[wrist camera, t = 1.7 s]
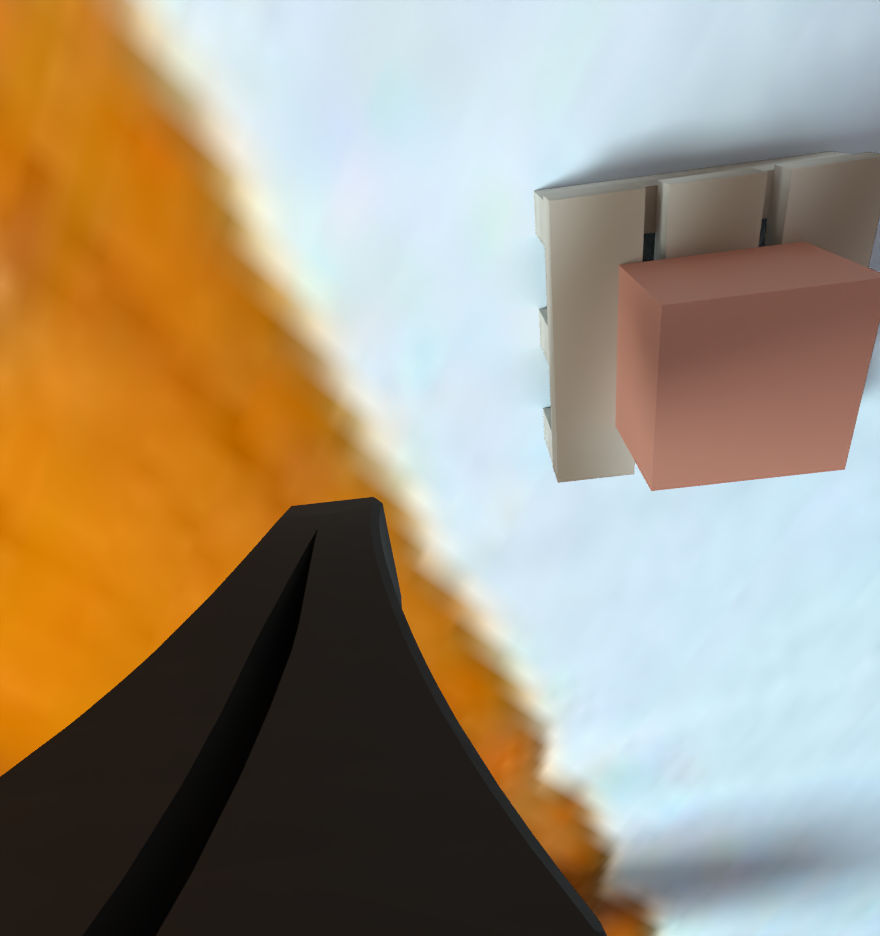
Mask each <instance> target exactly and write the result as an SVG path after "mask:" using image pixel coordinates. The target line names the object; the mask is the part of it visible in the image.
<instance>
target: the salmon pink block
mask: <svg viewBox="0 0 880 936" xmlns="http://www.w3.org/2000/svg"><path fill="white" fill-rule="evenodd" d="M879 322H880V273H879V272H877V271H875V270H872V269H870V268H867V267H865V266H863V265H860V264H858V263H855V262H853V261H851V260H848V259H846V258H843V257H841V256H839V255H836V254H834V253H831V252H829V251H827V250H824V249H822V248H819V247H817V246H815V245H812V244H810V243H807V242H805V241H802V242H794V243H787V244H779V245H771V246H763V247H755V248H747V249H739V250H732V251H724V252H716V253H708V254H700V255H692V256H684V257H677V258H669V259H661V260H653V261H645V262H637V263H629V264H622V265H619V276H618V324H617V371H616V419H615V426H616V428H617V430H618V432H619V433H620V435H621V437H622V439H623V441H624V443H625V444H626V446H627V448H628V450H629V452H630V453H631V455H632V457H633V459H634V461H635V462H636V464H637V466H638V468H639V470H640V471H641V473H642V475H643V477H644V479H645V480H646V482H647V484H648V486H649V488H650V489H651V491H655V490H664V489H673V488H682V487H691V486H700V485H709V484H718V483H727V482H736V481H745V480H754V479H763V478H772V477H781V476H790V475H799V474H808V473H817V472H826V471H835V470H844V469H845V466H846V462H847V457H848V453H849V449H850V445H851V440H852V436H853V432H854V428H855V424H856V419H857V415H858V411H859V407H860V402H861V398H862V394H863V390H864V385H865V381H866V377H867V373H868V368H869V364H870V360H871V356H872V352H873V347H874V343H875V339H876V335H877V330H878V326H879Z"/></svg>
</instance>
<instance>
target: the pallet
mask: <svg viewBox="0 0 880 936" xmlns="http://www.w3.org/2000/svg"><path fill="white" fill-rule="evenodd" d="M534 209H535V232H536V235H537V237H538V238H539V239H540V241H541V242H542V244H543V245H544V246H545V264H546V291H547V308H544V309H539V325H540V346H541V348H542V350H543V352H544V355H545V357H546V359H547V362H548V364H549V374H550V402H551V408H543V418H544V439H545V442H546V445H547V448H548V451H549V454H550V457H551V460H552V463H553V469H554V472H555V475H556V478H557V481H558V483H559V482H568V481H576V480H585V479H594V478H603V477H612V476H621V475H630V474H634V465H635V461H634V459H633V457H632V455H631V453H630V452H629V450H628V448H627V446H626V444H625V443H624V441H623V439H622V437H621V435H620V433H619V432H618V430H617V428H616V426H615V419H616V371H617V324H618V276H619V265H622V264H629V263H637V262H643V239H644V234H648V233H655V249H654V260H661V259H669V258H677V257H684V256H692V255H700V254H708V253H716V252H724V251H732V250H739V249H747V248H755V247H758V246H759V238H760V230H761V223H762V219H764V218H767V226H766V233H765V241H764V246H771V245H779V244H787V243H794V242H802V241H805V242H807V243H810V244H812V245H815V246H817V247H819V248H822V249H824V250H827V251H829V252H831V253H834V254H836V255H839V256H841V257H843V258H846V259H848V260H851V261H853V262H855V263H858V264H860V265H863V266H865V267H867V268H868V267H869V262H870V257H871V253H872V248H873V244H874V239H875V234H876V230H877V225H878V221H879V216H880V154H879V153H873V152H866V153H858V154H847V153H841V152H835V151H830V152H822V153H814V154H807V155H799V156H792V157H784V158H777V159H769V160H762V161H754V162H747V163H739V164H732V165H724V166H717V167H709V168H701V169H694V170H686V171H679V172H671V173H664V174H656V175H649V176H641V177H634V178H626V179H619V180H611V181H603V182H596V183H588V184H581V185H573V186H566V187H558V188H551V189H543V190H536V191H534Z"/></svg>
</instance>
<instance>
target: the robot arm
mask: <svg viewBox="0 0 880 936" xmlns="http://www.w3.org/2000/svg"><path fill="white" fill-rule="evenodd" d="M0 936H607V935H606V933H605V931H604V929H603V927H602V925H601V923H600V921H599V920H598V919H597V917H596V916H595V914H594V913H593V912H592V911H591V909H590V908H589V907H588V905H587V904H586V903H585V902H584V900H583V899H582V898H581V897H580V895H579V894H578V893H577V892H576V890H575V889H574V888H573V886H572V885H571V884H570V883H569V881H568V880H567V879H566V878H565V876H564V875H563V874H562V872H561V871H560V870H559V868H558V867H557V866H556V864H555V863H554V862H553V860H552V859H551V858H550V856H549V855H548V854H547V852H546V851H545V850H544V849H543V847H542V846H541V845H540V843H539V842H538V841H537V839H536V838H535V837H534V835H533V834H532V832H531V831H530V830H529V828H528V827H527V825H526V824H525V822H524V821H523V820H522V818H521V817H520V815H519V814H518V813H517V811H516V810H515V808H514V807H513V806H512V804H511V803H510V801H509V800H508V798H507V797H506V796H505V794H504V793H503V791H502V790H501V789H500V787H499V786H498V784H497V782H496V781H495V779H494V778H493V776H492V775H491V773H490V771H489V770H488V768H487V767H486V765H485V764H484V762H483V760H482V759H481V757H480V756H479V754H478V753H477V751H476V749H475V748H474V746H473V745H472V743H471V742H470V740H469V738H468V737H467V735H466V734H465V732H464V731H463V729H462V727H461V726H460V724H459V723H458V721H457V719H456V718H455V716H454V714H453V712H452V710H451V709H450V707H449V705H448V703H447V702H446V700H445V698H444V696H443V694H442V693H441V691H440V689H439V687H438V685H437V683H436V682H435V680H434V678H433V676H432V674H431V672H430V670H429V668H428V666H427V664H426V662H425V660H424V658H423V656H422V654H421V652H420V650H419V648H418V645H417V643H416V641H415V639H414V637H413V634H412V632H411V630H410V627H409V625H408V623H407V620H406V618H405V615H404V613H403V611H402V604H401V593H400V588H399V583H398V578H397V573H396V568H395V563H394V558H393V553H392V548H391V544H390V539H389V534H388V529H387V524H386V519H385V514H384V509H383V504H382V503H381V502H380V501H379V500H377V499H376V498H374V497H369V498H360V499H351V500H342V501H333V502H324V503H316V504H307V505H298V506H291V507H290V508H289V509H288V510H287V511H286V513H285V514H284V515H283V516H282V517H281V518H280V519H279V520H278V521H277V522H276V524H275V525H274V526H273V527H272V528H271V529H270V530H269V531H268V533H267V534H266V535H265V536H264V537H263V538H262V539H261V541H260V542H259V543H258V544H257V545H256V546H255V547H254V549H253V550H252V551H251V552H250V553H249V554H248V555H247V556H246V558H245V559H244V560H243V561H242V562H241V563H240V564H239V565H238V566H237V567H236V569H235V570H234V571H233V572H232V573H231V574H230V575H229V576H228V577H227V578H226V580H225V581H224V582H223V583H222V584H221V585H220V586H219V587H218V588H217V589H216V590H215V592H214V593H213V594H212V595H211V596H210V597H209V598H208V599H207V600H206V601H205V602H204V603H203V604H202V605H201V606H200V607H199V608H198V609H197V610H196V611H195V612H194V613H193V614H192V615H191V616H190V617H189V618H188V619H187V620H186V621H185V622H184V623H183V624H182V625H181V626H180V627H179V628H178V629H177V630H176V631H175V632H174V633H173V634H172V635H171V636H170V637H169V638H168V639H167V640H166V641H165V642H164V643H163V644H162V645H161V646H160V647H159V648H158V649H157V650H156V651H155V652H154V653H152V654H151V655H150V656H149V657H148V658H147V659H146V660H145V661H144V662H143V663H142V664H141V665H139V666H138V667H137V668H136V669H135V670H134V671H133V672H132V673H130V674H129V675H128V676H127V677H126V678H125V679H124V680H123V681H121V682H120V683H119V684H118V685H117V686H116V687H114V688H113V689H112V690H111V691H110V692H108V693H107V694H106V695H105V696H104V697H103V698H101V699H100V700H99V701H98V702H97V703H95V704H94V705H93V706H92V707H91V708H90V709H88V710H87V711H86V712H85V713H84V714H82V715H81V716H80V717H79V718H77V719H76V720H75V721H74V722H72V723H71V724H70V725H69V726H67V727H66V728H65V729H63V730H62V731H61V732H59V733H58V734H57V735H55V736H54V737H53V738H51V739H50V740H49V741H47V742H46V743H45V744H43V745H42V746H41V747H39V748H38V749H37V750H35V751H34V752H33V753H31V754H30V755H29V756H27V757H26V758H25V759H24V760H22V761H21V762H20V763H18V764H17V765H16V766H14V767H13V768H12V769H10V770H9V771H8V772H6V773H5V774H4V775H2V776H1V777H0Z"/></svg>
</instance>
